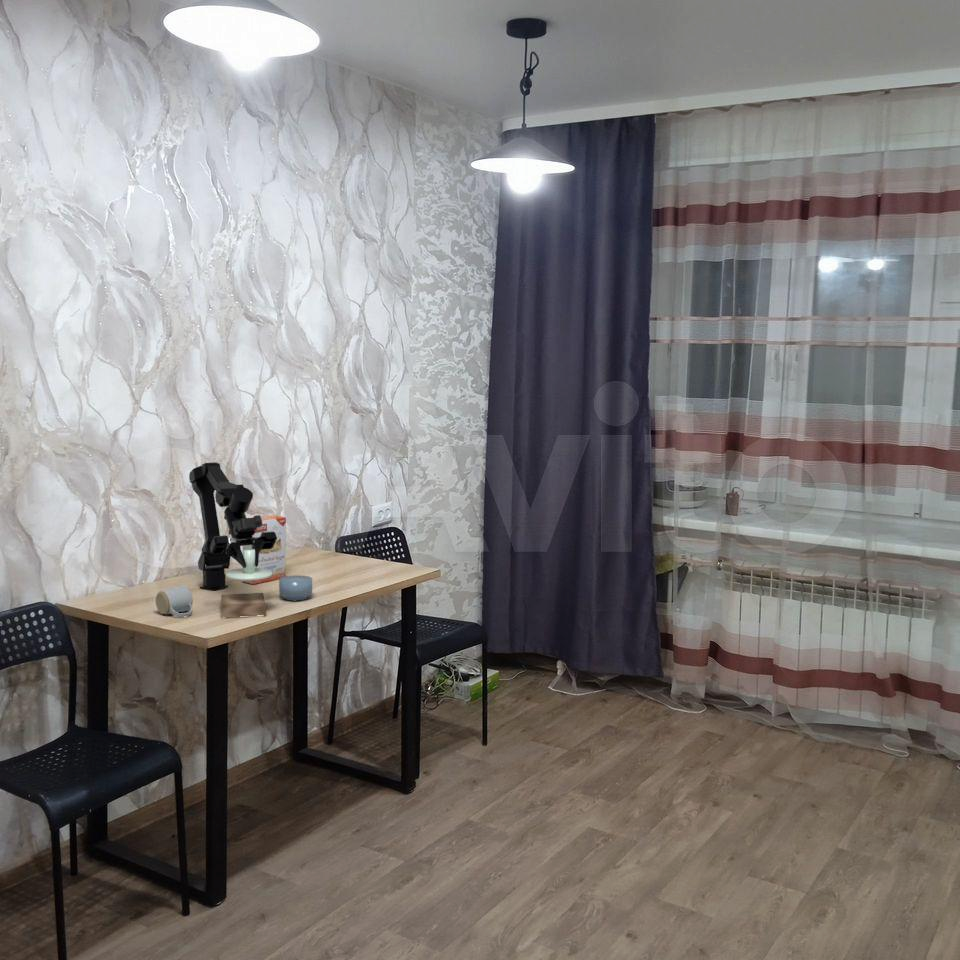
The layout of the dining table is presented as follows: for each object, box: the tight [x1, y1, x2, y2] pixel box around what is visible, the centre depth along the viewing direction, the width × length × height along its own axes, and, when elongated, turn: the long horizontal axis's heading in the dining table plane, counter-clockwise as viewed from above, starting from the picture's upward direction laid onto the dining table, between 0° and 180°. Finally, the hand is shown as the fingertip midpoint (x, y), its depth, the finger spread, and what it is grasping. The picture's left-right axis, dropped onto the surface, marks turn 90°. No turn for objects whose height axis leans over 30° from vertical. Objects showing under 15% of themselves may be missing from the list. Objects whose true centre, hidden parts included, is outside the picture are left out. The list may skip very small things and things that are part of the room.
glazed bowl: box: [278, 574, 313, 601], centre depth 301 cm, size 10×10×6 cm
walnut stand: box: [220, 592, 267, 618], centre depth 283 cm, size 12×12×4 cm
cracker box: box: [242, 515, 287, 585], centre depth 322 cm, size 14×6×21 cm, turn 143°
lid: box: [225, 549, 272, 582], centre depth 283 cm, size 13×13×8 cm
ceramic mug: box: [155, 584, 194, 618], centre depth 280 cm, size 11×8×8 cm
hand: (251, 566), depth 282 cm, fingers closed on lid, 3 cm apart
